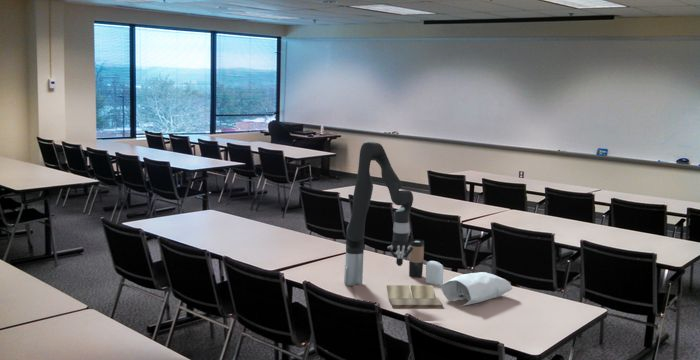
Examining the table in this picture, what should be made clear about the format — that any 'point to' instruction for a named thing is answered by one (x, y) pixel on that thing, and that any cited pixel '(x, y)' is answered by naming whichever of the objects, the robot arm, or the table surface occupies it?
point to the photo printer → (434, 273)
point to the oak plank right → (423, 291)
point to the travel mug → (416, 258)
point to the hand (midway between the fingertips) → (399, 265)
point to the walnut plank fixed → (415, 303)
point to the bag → (475, 287)
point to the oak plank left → (398, 291)
